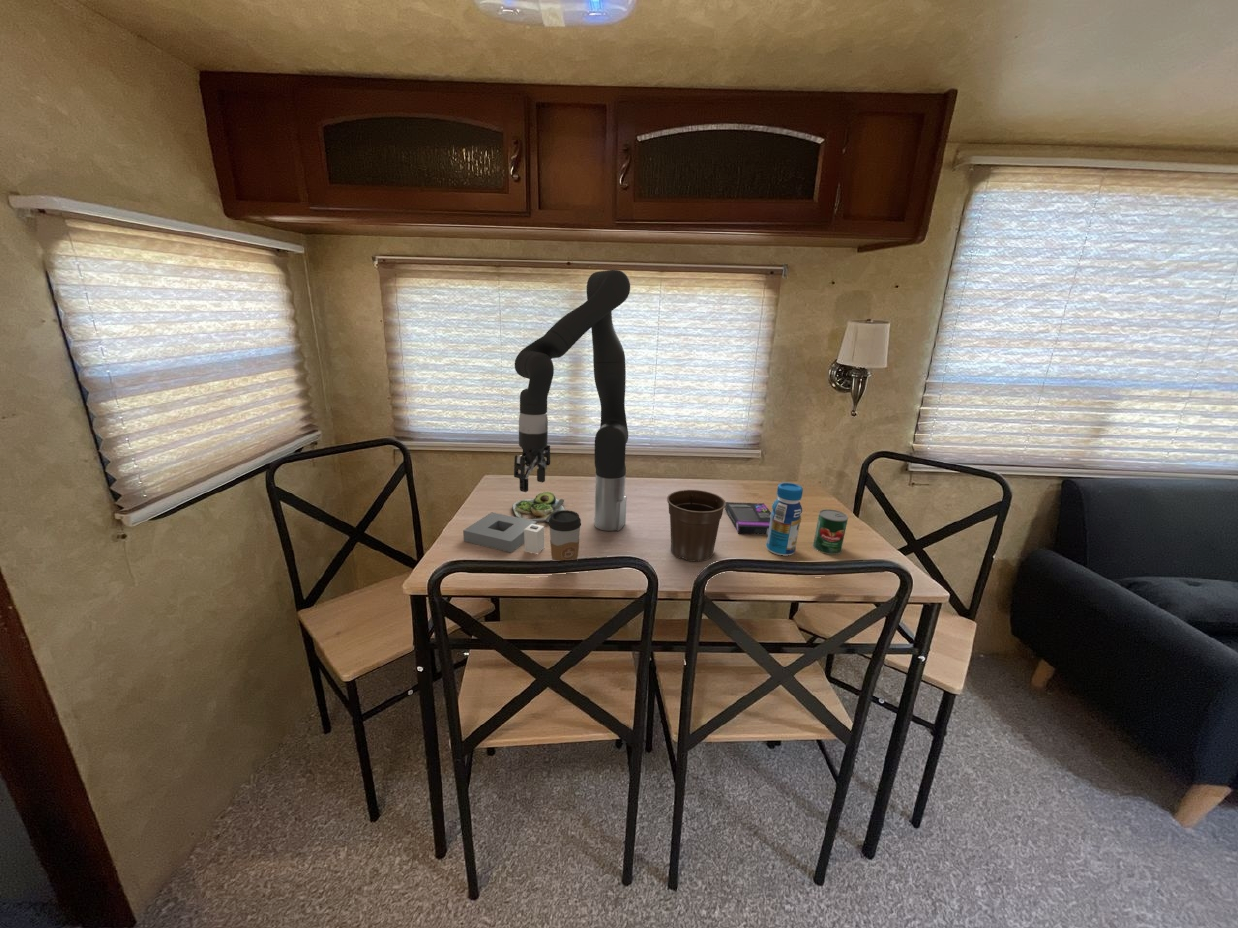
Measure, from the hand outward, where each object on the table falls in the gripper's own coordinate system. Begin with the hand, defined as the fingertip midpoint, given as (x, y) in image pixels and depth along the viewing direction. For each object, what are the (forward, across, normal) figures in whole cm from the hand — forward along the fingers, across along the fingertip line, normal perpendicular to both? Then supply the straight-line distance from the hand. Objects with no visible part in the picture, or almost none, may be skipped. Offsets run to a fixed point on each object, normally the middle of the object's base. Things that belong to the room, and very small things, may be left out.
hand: (532, 486), depth 132 cm
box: (+18, +48, -55) cm, 75 cm away
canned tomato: (+16, +38, -78) cm, 89 cm away
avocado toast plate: (+19, +22, +11) cm, 32 cm away
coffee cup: (+19, -6, -14) cm, 24 cm away
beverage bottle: (+17, +31, -65) cm, 74 cm away
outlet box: (+19, +1, +12) cm, 22 cm away
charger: (+19, -1, -2) cm, 19 cm away
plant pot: (+18, +18, -42) cm, 49 cm away
